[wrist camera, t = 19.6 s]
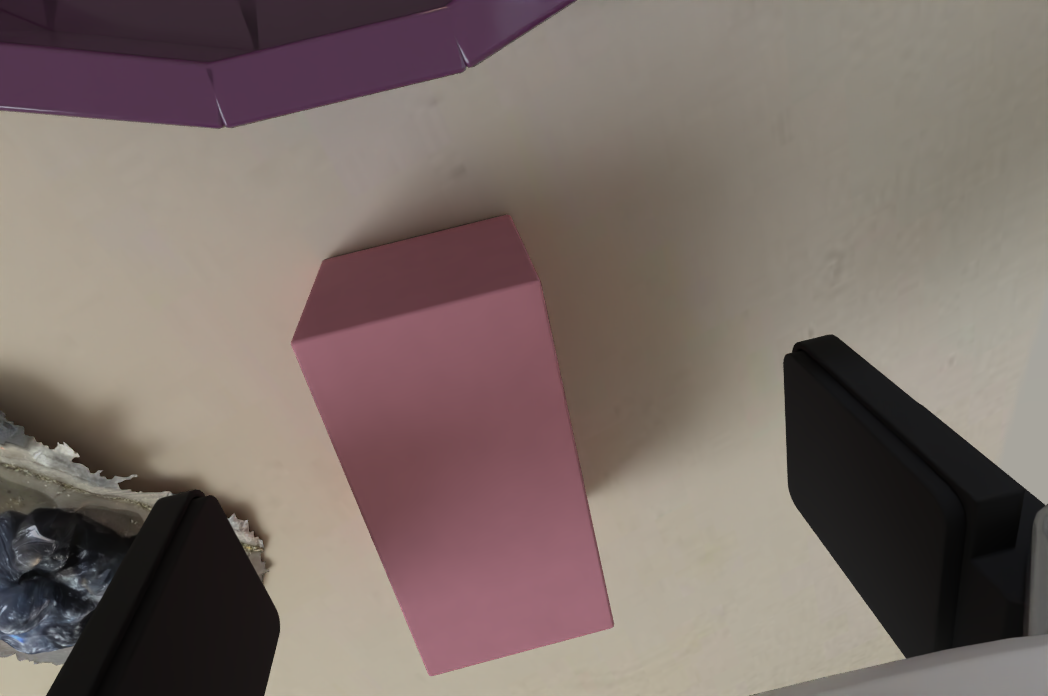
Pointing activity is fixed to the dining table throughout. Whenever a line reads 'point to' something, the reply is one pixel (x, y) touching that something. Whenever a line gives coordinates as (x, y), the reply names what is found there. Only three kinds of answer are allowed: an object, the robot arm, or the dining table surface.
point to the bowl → (239, 53)
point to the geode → (64, 543)
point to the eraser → (457, 440)
